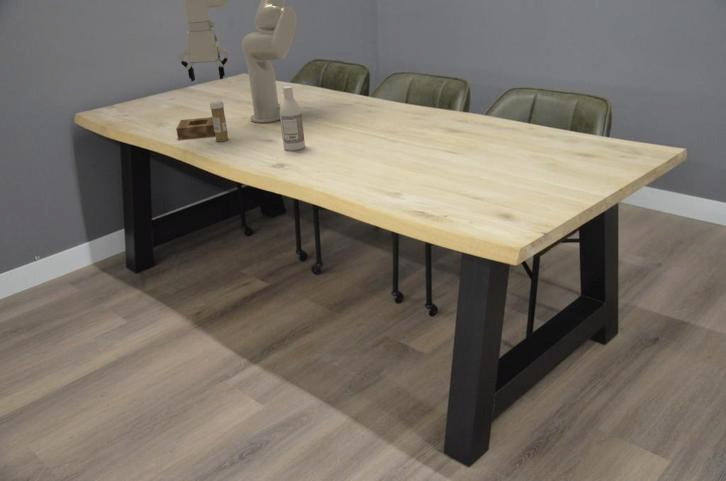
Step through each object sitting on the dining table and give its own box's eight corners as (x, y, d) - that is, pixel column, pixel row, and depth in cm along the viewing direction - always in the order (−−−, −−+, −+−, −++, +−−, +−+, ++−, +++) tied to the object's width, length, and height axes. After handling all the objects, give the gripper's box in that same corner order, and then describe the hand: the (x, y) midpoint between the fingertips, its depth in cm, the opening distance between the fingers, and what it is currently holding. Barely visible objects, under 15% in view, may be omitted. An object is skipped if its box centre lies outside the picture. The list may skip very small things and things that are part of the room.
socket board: (220, 127, 267) (219, 116, 265) (218, 135, 256) (216, 124, 254) (182, 130, 266) (180, 120, 264) (178, 139, 255) (176, 128, 253)
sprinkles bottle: (231, 139, 250) (225, 101, 244) (218, 142, 247) (212, 104, 242) (225, 137, 253) (219, 99, 248) (213, 140, 251) (207, 101, 245)
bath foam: (307, 149, 233) (301, 87, 225) (287, 152, 231) (279, 90, 223) (301, 143, 239) (295, 83, 231) (281, 147, 237) (274, 86, 229)
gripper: (227, 23, 239) (234, 75, 246) (175, 27, 239) (184, 79, 246) (223, 26, 232) (231, 79, 239) (170, 30, 232) (179, 83, 239)
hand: (207, 79), depth 243 cm, fingers open, 9 cm apart
